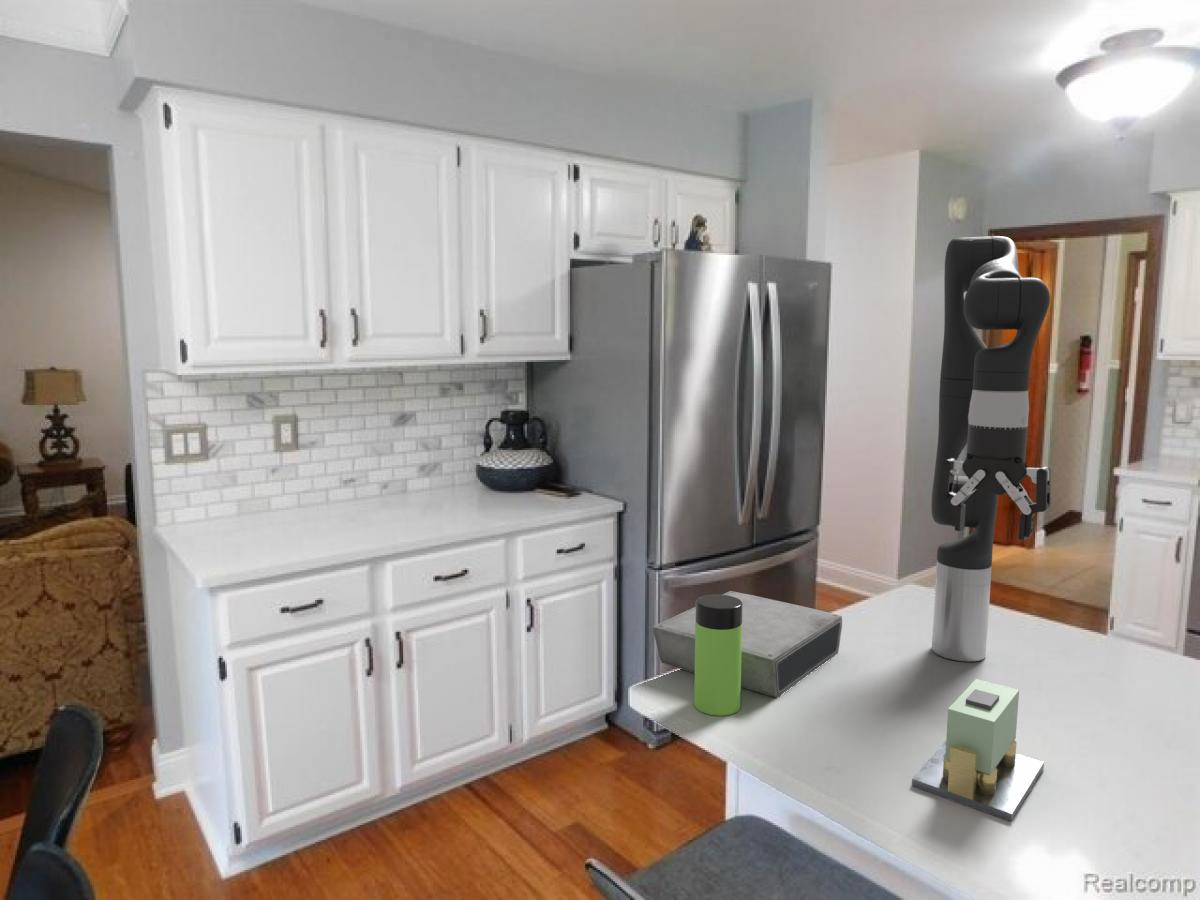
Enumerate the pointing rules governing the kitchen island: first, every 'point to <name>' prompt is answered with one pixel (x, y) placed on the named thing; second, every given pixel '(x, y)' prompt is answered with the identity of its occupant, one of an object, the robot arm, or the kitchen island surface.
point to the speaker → (761, 642)
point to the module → (983, 722)
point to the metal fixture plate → (980, 780)
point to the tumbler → (718, 654)
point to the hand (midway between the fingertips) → (990, 534)
